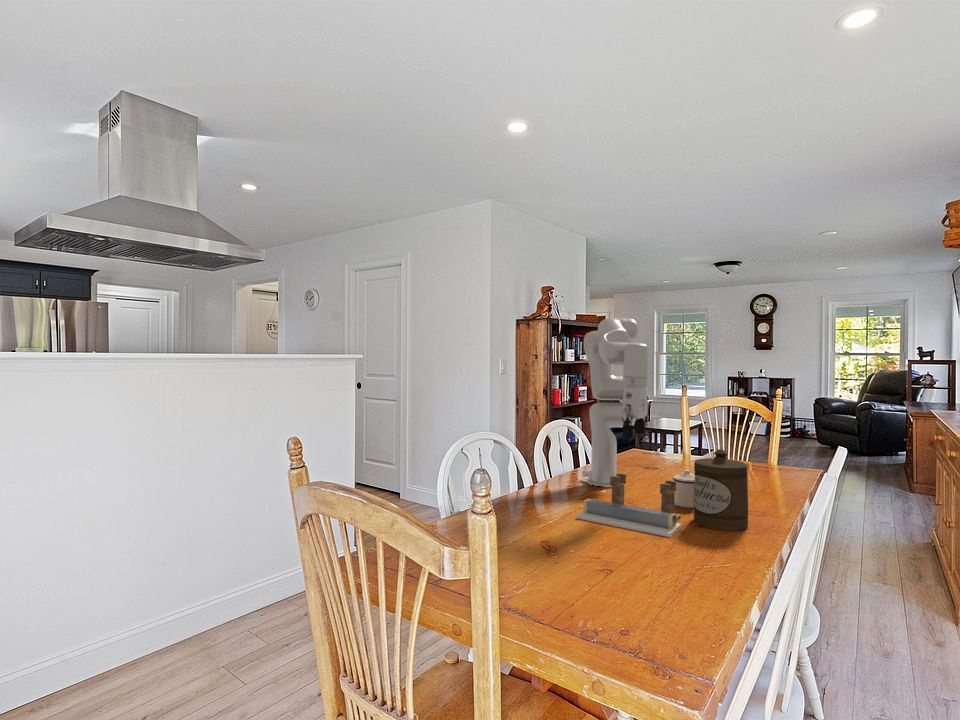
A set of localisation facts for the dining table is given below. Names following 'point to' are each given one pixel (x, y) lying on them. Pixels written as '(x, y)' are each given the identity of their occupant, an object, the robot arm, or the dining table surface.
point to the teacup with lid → (684, 489)
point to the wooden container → (721, 493)
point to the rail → (630, 513)
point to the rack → (618, 498)
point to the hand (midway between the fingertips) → (633, 435)
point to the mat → (629, 524)
